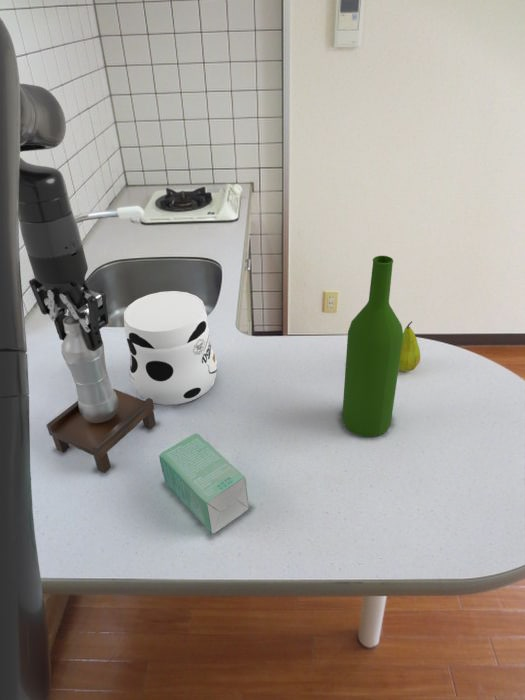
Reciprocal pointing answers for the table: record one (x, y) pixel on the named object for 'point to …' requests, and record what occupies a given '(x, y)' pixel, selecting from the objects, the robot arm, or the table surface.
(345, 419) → the wine bottle
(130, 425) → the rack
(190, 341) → the milk container
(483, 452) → the table surface
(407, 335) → the fruit
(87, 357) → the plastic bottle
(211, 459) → the box
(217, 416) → the table surface
